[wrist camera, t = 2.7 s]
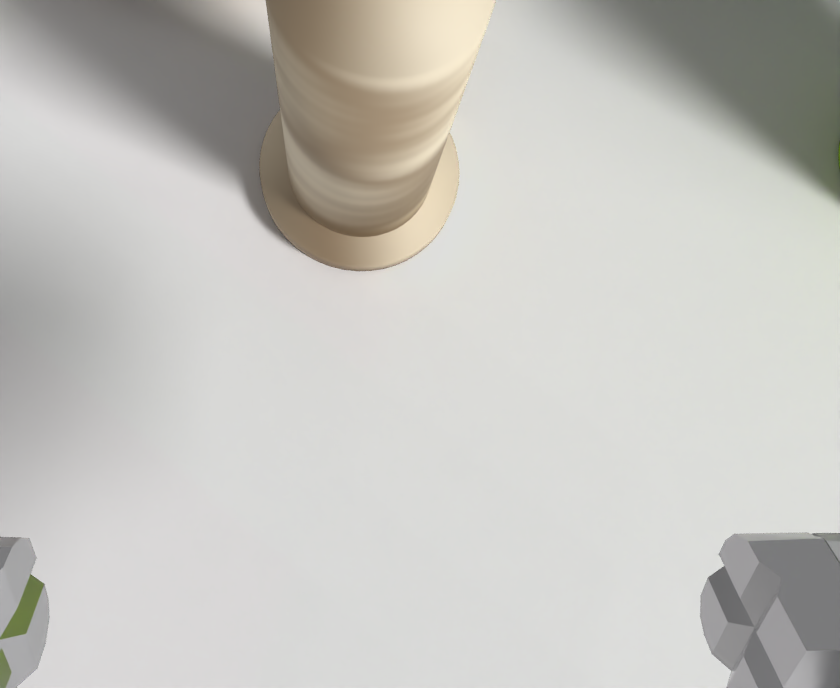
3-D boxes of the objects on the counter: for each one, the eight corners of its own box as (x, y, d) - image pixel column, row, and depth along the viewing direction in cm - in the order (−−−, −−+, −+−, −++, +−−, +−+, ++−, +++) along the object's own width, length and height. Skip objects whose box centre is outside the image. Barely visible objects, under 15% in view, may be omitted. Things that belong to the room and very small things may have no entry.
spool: (455, 92, 27) (541, -164, 16) (455, 274, 26) (547, 131, 15) (265, 80, 26) (221, -197, 15) (257, 267, 25) (203, 111, 14)
